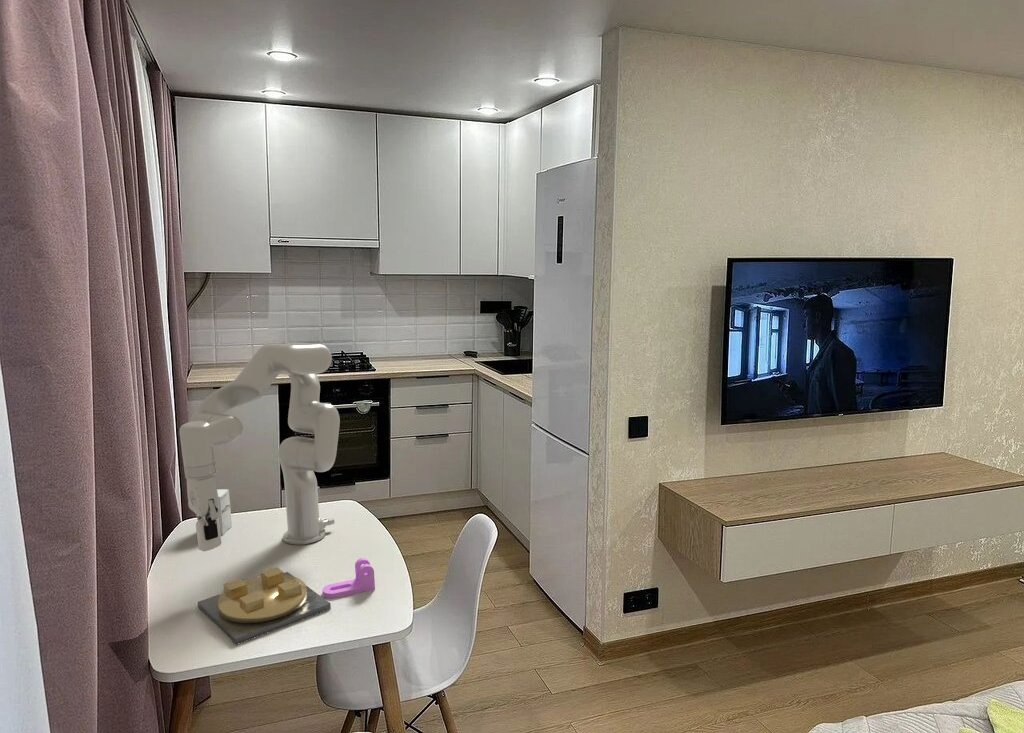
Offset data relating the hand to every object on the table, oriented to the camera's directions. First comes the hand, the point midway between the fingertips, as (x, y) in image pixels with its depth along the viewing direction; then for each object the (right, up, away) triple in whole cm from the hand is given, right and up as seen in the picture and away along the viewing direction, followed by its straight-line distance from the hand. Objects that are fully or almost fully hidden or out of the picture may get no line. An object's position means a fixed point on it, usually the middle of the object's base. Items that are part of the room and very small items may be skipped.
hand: (208, 535), depth 197 cm
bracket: (+36, -15, +1) cm, 39 cm away
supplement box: (-14, -8, +41) cm, 44 cm away
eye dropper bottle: (0, -3, +1) cm, 4 cm away
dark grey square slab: (+17, -16, -8) cm, 25 cm away
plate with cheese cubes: (+17, -15, -8) cm, 24 cm away
